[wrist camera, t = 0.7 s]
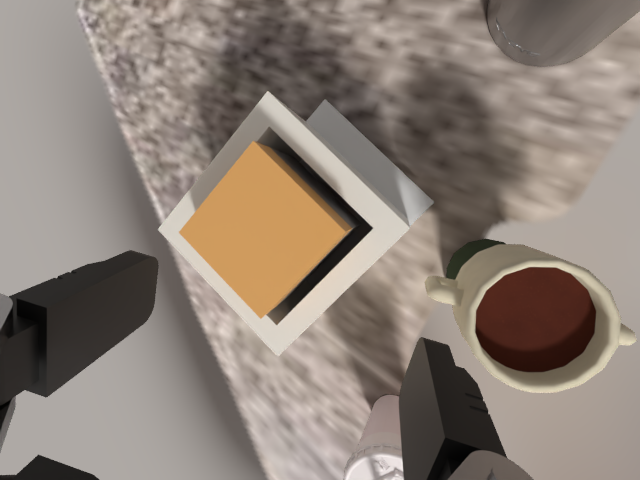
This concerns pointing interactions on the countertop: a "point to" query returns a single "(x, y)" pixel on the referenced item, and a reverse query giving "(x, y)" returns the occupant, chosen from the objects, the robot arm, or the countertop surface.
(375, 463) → the smoothie
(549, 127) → the countertop surface
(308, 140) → the white open box
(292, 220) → the orange block
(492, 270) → the character mug
